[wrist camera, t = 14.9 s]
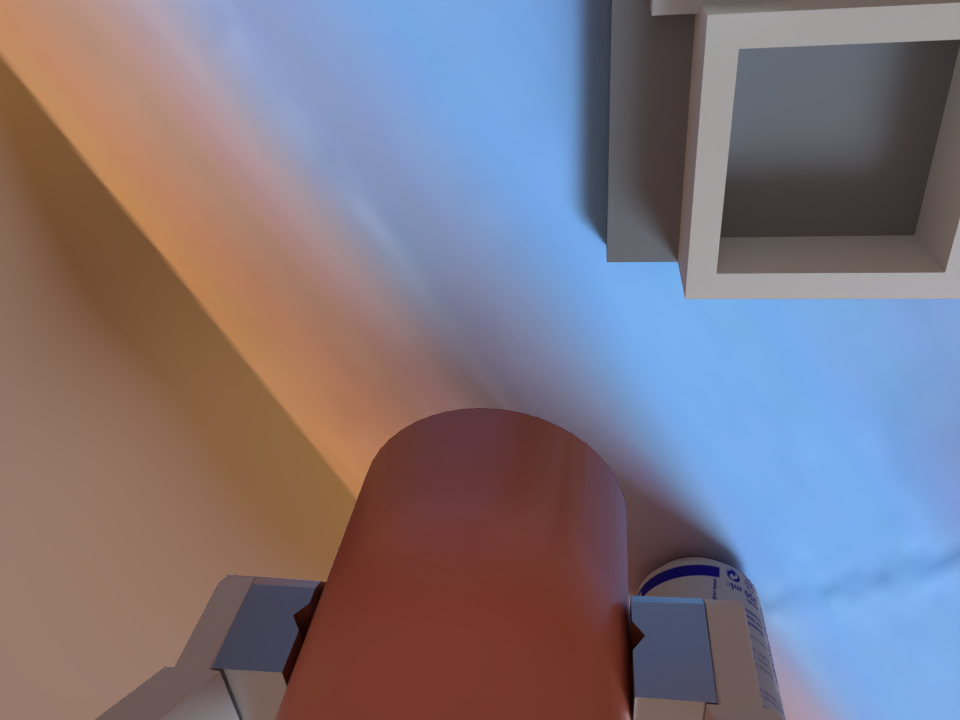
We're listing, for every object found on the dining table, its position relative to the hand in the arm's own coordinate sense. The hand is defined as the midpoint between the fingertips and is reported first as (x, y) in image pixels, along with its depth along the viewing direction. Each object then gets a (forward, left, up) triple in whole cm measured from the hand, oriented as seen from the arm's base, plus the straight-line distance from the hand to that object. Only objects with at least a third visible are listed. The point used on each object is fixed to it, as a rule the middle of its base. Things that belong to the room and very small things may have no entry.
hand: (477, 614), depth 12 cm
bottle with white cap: (0, 0, -2) cm, 2 cm away
